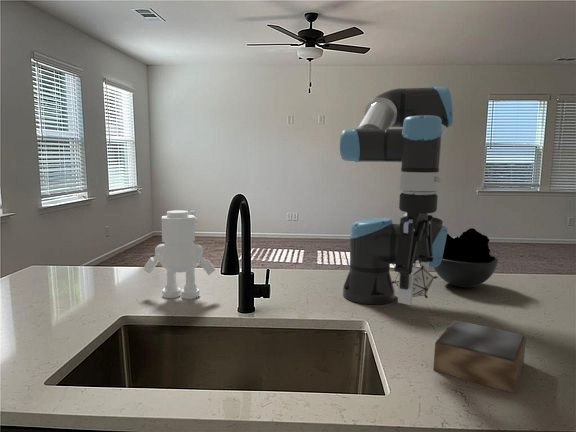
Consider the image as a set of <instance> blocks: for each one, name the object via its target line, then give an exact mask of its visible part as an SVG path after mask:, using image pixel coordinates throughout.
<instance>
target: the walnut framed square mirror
mask: <svg viewBox="0 0 576 432" xmlns="http://www.w3.org/2000/svg"><path fill="white" fill-rule="evenodd" d="M526 342H527V336H525V335H524V334H521V333H517V332H513V331H512V332H511V331H509V330H503V329H499V328H494V327H489V326H484V325H480V324H475V323H470V322H466V321H463V320H462V321H460V320H456V319H455V320H452V322H451V323H450V324H449V326H447V328H446V329H445V331H444V332H443V333H442V334H441V335H440V336H439V338H437V340H436V341H435V344H434V357H433V360H434V361H433V371H436V372H438V373H442V374H446V375H449V376H452V377H456V378H459V379H463V380H466V381H469V382H470V381H471V382H473V383H478V384H480V385H485V386H486V387H487V386H488V387H491V388H494V389H498V390H502V391H505V392H508V393H512V394H515V393H516V388H517V386H518V382H519V379H520V377H521V373H522V370H523V366H524V363H525V354H526V344H527V343H526Z"/></svg>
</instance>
